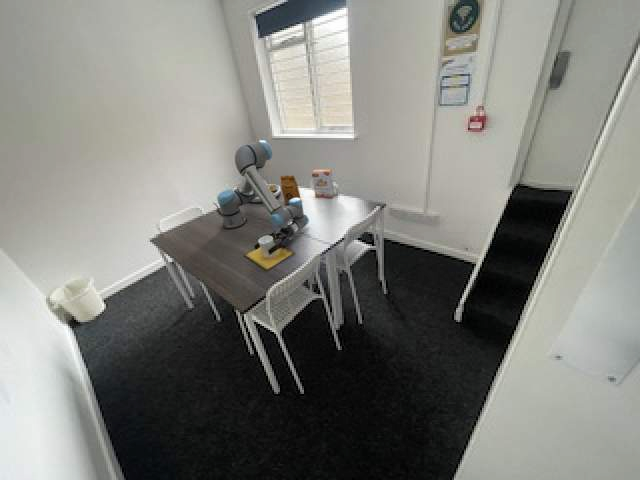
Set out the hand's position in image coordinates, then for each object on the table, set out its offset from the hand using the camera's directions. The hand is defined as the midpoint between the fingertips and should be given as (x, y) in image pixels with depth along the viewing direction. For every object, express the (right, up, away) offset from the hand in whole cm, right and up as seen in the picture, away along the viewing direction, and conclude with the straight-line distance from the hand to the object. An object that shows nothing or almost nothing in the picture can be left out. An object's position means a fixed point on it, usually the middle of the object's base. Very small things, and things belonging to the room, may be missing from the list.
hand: (261, 250), depth 139 cm
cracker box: (+35, +40, +66) cm, 84 cm away
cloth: (+3, -3, +7) cm, 8 cm away
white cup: (+3, -3, +6) cm, 7 cm away
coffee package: (+10, +34, +64) cm, 73 cm away
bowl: (-17, +42, +83) cm, 95 cm away
